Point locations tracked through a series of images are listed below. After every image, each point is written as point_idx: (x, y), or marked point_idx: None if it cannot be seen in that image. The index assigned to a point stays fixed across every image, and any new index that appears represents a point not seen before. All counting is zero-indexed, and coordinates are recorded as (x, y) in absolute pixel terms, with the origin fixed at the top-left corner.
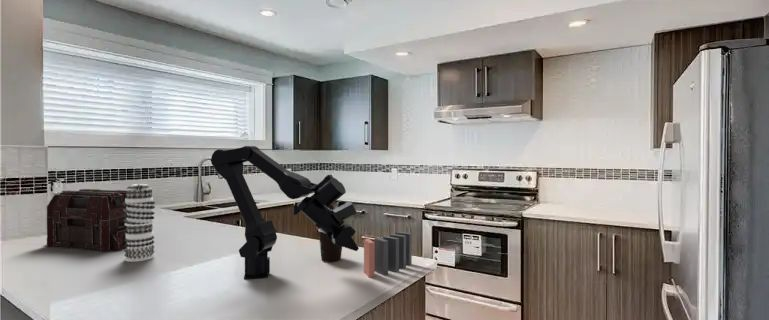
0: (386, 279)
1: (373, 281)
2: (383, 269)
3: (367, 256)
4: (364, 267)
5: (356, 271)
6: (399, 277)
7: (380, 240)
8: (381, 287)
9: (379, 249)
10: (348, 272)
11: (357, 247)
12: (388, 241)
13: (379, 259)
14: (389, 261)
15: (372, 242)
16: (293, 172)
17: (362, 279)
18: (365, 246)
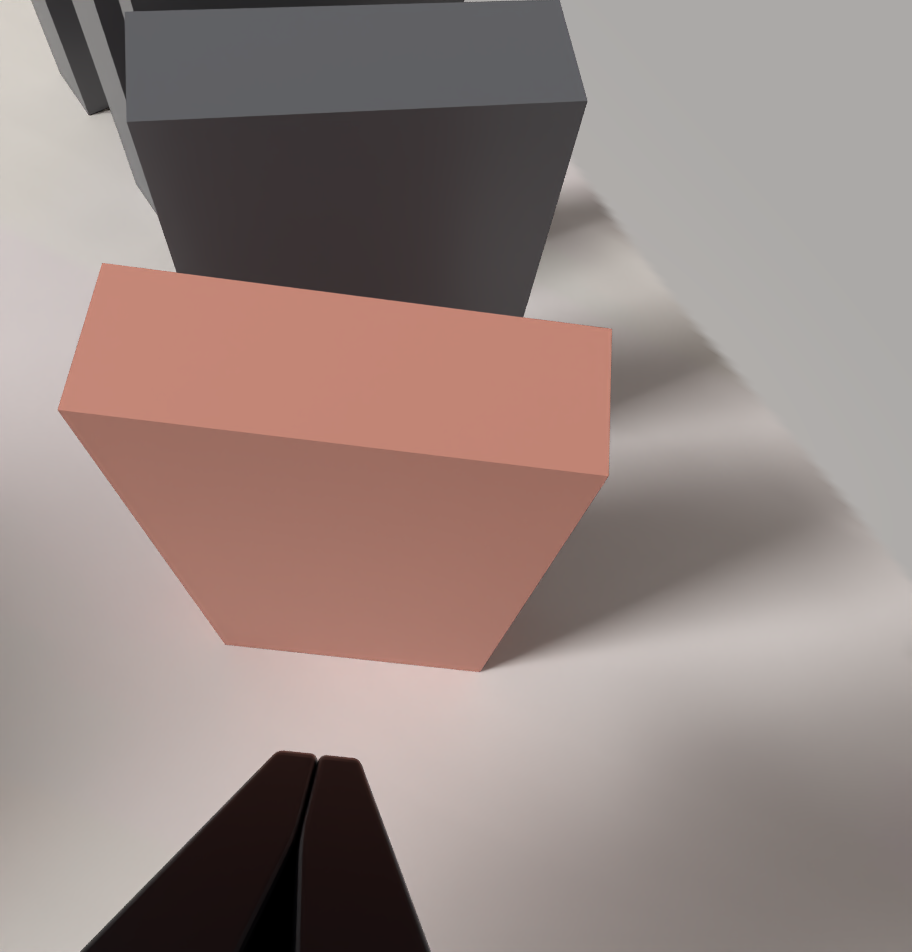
0: (640, 498)
1: (654, 685)
2: None
3: (411, 583)
4: (238, 627)
5: (114, 733)
6: (627, 334)
7: (437, 108)
8: (903, 689)
9: (385, 266)
10: (85, 883)
11: (376, 810)
12: None
13: None
14: None
15: (574, 367)
16: None
17: (516, 799)
18: (249, 503)
